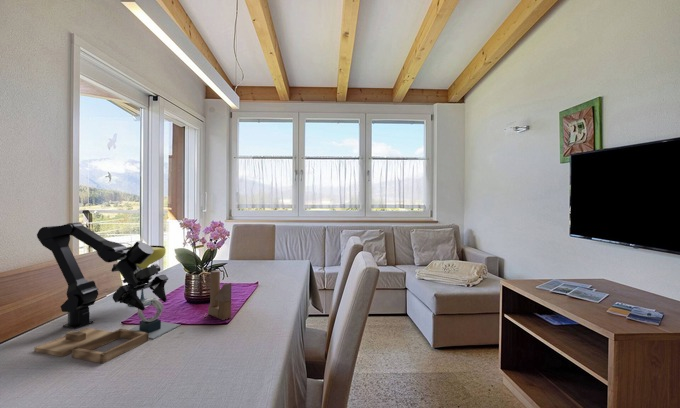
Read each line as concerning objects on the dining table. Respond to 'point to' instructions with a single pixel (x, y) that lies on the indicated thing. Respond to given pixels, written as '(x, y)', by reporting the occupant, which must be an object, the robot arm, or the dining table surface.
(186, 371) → the dining table surface
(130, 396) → the dining table surface
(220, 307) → the wooden block
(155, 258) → the cocktail glass
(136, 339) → the wooden rectangular frame
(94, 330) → the lid
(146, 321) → the watch
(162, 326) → the felt mat
